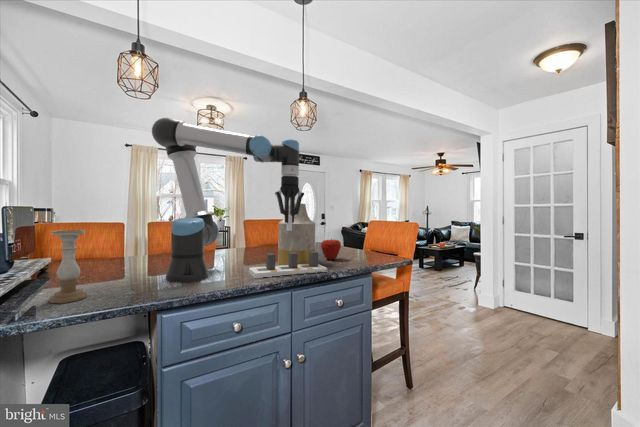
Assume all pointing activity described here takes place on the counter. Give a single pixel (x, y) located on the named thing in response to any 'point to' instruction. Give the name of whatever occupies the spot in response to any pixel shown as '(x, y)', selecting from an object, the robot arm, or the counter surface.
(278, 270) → the switch board
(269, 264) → the block
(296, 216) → the vase
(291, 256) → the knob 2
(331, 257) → the apple
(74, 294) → the candle holder
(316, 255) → the knob
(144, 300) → the counter surface
